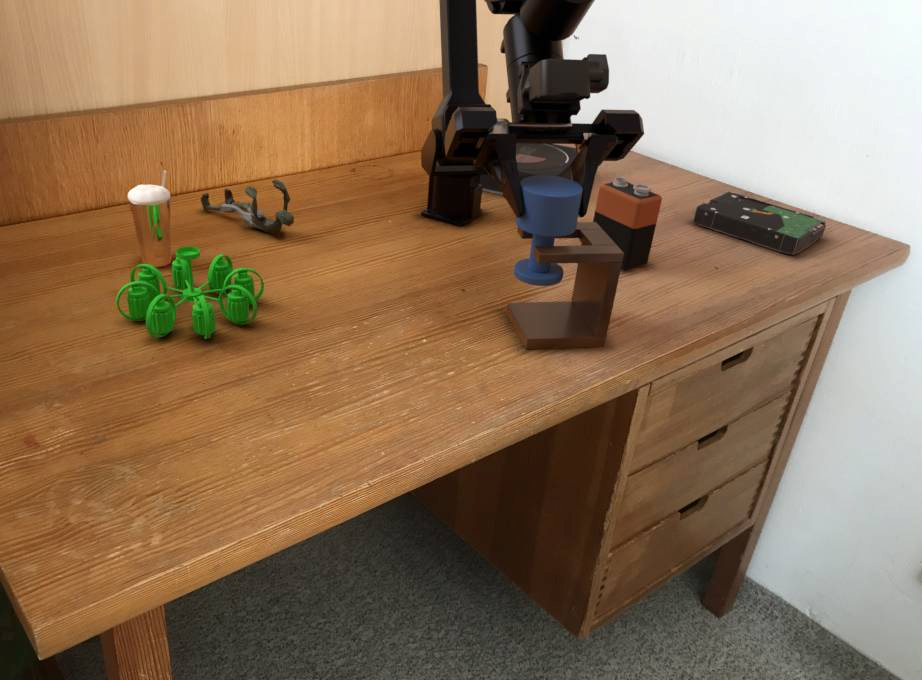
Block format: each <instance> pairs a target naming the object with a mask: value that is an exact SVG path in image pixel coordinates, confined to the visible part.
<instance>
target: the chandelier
mask: <svg viewBox="0 0 922 680" xmlns="http://www.w3.org/2000/svg"><path fill="white" fill-rule="evenodd" d="M200 256H201V250H200V249H199V247H195V246H182V247H180V248H178V249H177V250H176V253H175V260H173V261H171V264H172V266H171V278H172V285H173V286H174V287H170V286H168V284H167V280H166V278H165V277H164V275H163V274H162V272H161V271H160V270H159V269H158V268H156V267H153V266H151V265H149V264H143V263H140V264H138V265H136V266H134V267H133V268H132V269H131V271H130V275H129V280H130V282H128V283H126V284H125V285H123V286H122V287H121V288H120V290H118V293H117V294H116V300H115V302H116V308H117V310H118V312H119V313H120V315H122V316H123V317H124V318H126V320H127V319H128V320H130V321H133V322H141V321H142V322H143V321H145V327H146V330H147V331H148V333H149V335H150V336H152V337H155V338H163V337H165V336H167V335H168V334H169V333H170V332H172V331H173V330H174V329H175V321H176V318H177V317H176V316H177V307H178V306H180V305H181V304H182V303H184V302H190V303H192V302H193V303H195V304H193V306H192V312H191V318H192V327H193V328H192V329H193V331H194V333H195V334H197V335H200V336H202V338H203V339H204V340H207V339H211V337H212V334H213V333H214V332H215V331H216V328H217V327H216V314H215V310H214V307H213V305H212V303H210V302H208V300H211V301H215V302H218V306H219V309H220V311H221V313H222V314H223V315H224V317H225V318H226V319H227V320H228V321H230V322H231V323H233V324H235V325H240V326H244V325H248V324H250V323H252V321H253V320H255V318H256V317H257V314H258V303H257V302H258V300H259V299H260V298H261V296H262V295H263V293H264V289H265V283H264V279H263V278H262V276H261V275H260V273H259V272H258V271H257V270H255V269H254V268H250V267H239V268H236V269H234V266H233V265H234V264H233V261H232V259H231V257H230V256H229V255H226V254H221V253H220V254H218V255H216V256H215V257H214V258H213V259H212V261H211V263H210V265H209V268H208V272H207V282H205V283H204V284H202V285H201V286H199V287H194V273H193V267H192V260H193V261H194V260H196V259H198V258H199V257H200ZM138 268H141V270H140V271H138V273H137V278H136V279H137V280H136V279H135V273H136V271H137V269H138ZM248 272H249V273H248ZM250 272H251V273H253V274H255V275H257V277H258V278H259V280H260V289H259V292H258V293H257V294H256V296H255V281H254V280H253V276H252V274H250ZM232 279H233V281H232ZM161 285H162V292H161ZM207 286H208V287H209V289H210V290H203V289H204V288H205V287H207ZM128 288H129V289H128ZM127 289H128V290H127ZM228 289H229V290H230V289H231V291H229V292H228V293H227V290H228ZM126 290H127V295H126V301H127V308H128V313H129V315H128V314H127V313H125V312H124V311H123V310H122V308H121V307H120V298H121V296H122V294H123V293H124V291H126ZM168 290H169V291H172V292H173V291H174V292H177V293H179V294H174V295H172V294H171V295H168ZM180 293H181V294H180ZM212 293H214V294H218V298H217V297H211V296H208V295H204V294H212ZM223 296H225V298H226V307H225V305H224V300H223V299H224V298H223ZM175 298H181V300H179V301H178V302H176V301H175V300H174V299H175ZM167 300H168V301H167ZM250 305H252V310H253V312H252V315H251V316H252V317H251V318H250V319H249V316H250Z"/></svg>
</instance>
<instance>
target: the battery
mask: <svg viewBox="0 0 922 680" xmlns="http://www.w3.org/2000/svg"><path fill="white" fill-rule="evenodd" d="M652 190H653V189H652V187H651V186H650V185H647V184H643V183H638V184H637V183H636V184H634V183H631V182H629V179H628V178H625V177H621V176H618V177H615V178H614V181H612V182H607V183H602V184H600V185H599V188H598V192H597V199H596V204H595V210H594V214H593V220H592V222H596V223H597V224H598V225H599V226H600V227H601V228H602V230H604V232H605V233H606V234H607V235H608V236H609V237H610V238H611V239H612V240H613V242H614V243H615V244H616V245H617V246H618V247H619V248H620V249H621V251H622V252H623V253H624V256H623V260H622V266H621V270H622V271H630V270H632V269H635V268H636V269H637V268H639V267H643V266H646V265H647V264H648V262H649V258H650V255H651V254H650V253H651V249H652V245H653V240H654V237H655V231H656V228H657V222H658V218H659V215H660V211H661V206H662V202H663V197H662V195H660V194H658V193H657V192H656V193H655V192H654V191H652Z"/></svg>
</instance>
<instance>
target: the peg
mask: <svg viewBox="0 0 922 680" xmlns="http://www.w3.org/2000/svg"><path fill="white" fill-rule="evenodd" d="M520 183H521V189H522V195H523V209H524V213H523V215H522V217H521V218H517V217H516V216H515V220H514V222H515V225H516V226H517V228H518V227H519V228H520V229H522V230H524V231H526V232H528V233H532V234H533V237H532V239H531V246H530V252H529V258H523V259H520V260H518V261H516V262H515V264H514V267H513V275H514V277H515V278H516V279H517V280H518V281H520V282H522V283H524V284H527V285H530V286H536V287H551V286H556V285H558V284H559V283H561V282H562V280H563V277H564V269H563V267H562V266H561V265H559V263H547V264H539V263H538V261H537V260H536V259H535V257H534V256H533V253H534V247H535V246H555V239H556V238H555V237H559V236H566V235H569V234H572V233H573V232H574V231H575V230H576V226H577V222H579V221H578V220H579V209H580V203H581V197H582V192H583V188H582V186H581V185H580V184H578V183H577V182H575V181H572V180H570V179H567V178H563V177H558V176H550V175H536V176H530V177H526V178H524V179H522V180H521V182H520Z"/></svg>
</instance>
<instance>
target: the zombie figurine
mask: <svg viewBox="0 0 922 680" xmlns="http://www.w3.org/2000/svg"><path fill="white" fill-rule="evenodd" d="M271 183H273V187H274V188H275V189H276V190H278V191H280V192H281V194H283V209H281V210H278V211H276V212H275V220H273V219H271V218H270V219H268V218H267V217H266V214H265V213H264V211H262V210H260V209H259V208H258V200H257V197H258V196H257V195H258V189H256V188H255V187H252V186H251V185H250V186H249V185H248V186H246V187H245V189H244V193H245V194H246V195H248V197H250V198H251V199H252V201H251V203H250V202H246V201H244V202H240V201H237V202H236V201H235V199H234V195H233V192H232V191H231V189H229V188H227V187H226V188H225V189H224V203H222V204H221V205H211V203H210V200H209V199H210V194H209V193H208V192H205V193H203V194H202V195H201V196H200V203H201V206H202V209H203V212H207V211H216V212H219V213H225V214H226V213H228V214H231V213H237V214H238V216H239V217H240V218H242V219H243V220H244V221H245V223H246V225H247V227H249V228H253V229H257V230H260V231H262V232H265V233H268V234H270V235H272V234H276V233H278V232H279V231H281V229H282V228H283V225H285V226H287V227H291V226H292V225H293V224H294V223H295V216H294V215H293V213H292V212H291V211H288V206H289V203H290V201H291V197H290V194H289V192H288V189H287V187H286V185H285V183H284V182H283V181H280V180H277V179H273V180H271ZM244 210H245V211H248V212H245V211H244Z"/></svg>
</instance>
